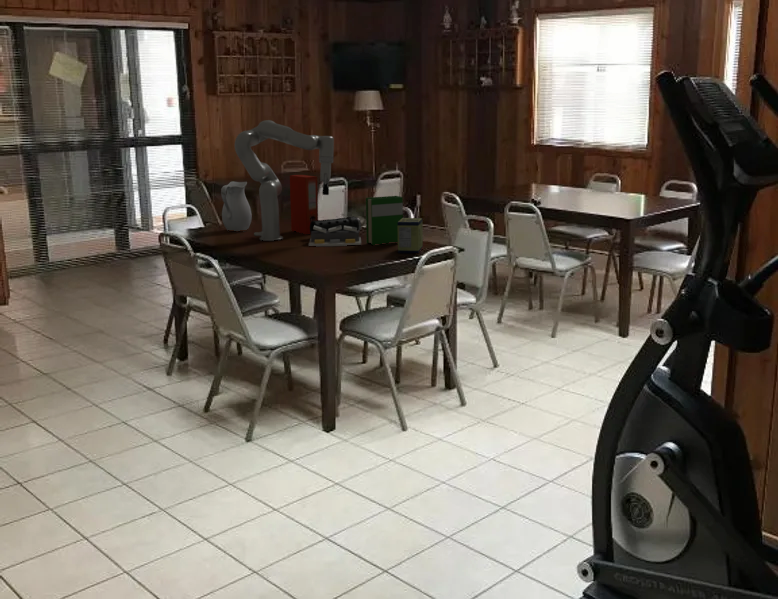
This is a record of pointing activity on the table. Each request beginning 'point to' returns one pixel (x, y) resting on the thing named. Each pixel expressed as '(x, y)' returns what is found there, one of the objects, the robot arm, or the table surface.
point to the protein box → (410, 235)
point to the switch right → (350, 228)
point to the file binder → (303, 202)
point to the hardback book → (383, 219)
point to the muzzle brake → (337, 223)
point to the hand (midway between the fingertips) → (325, 194)
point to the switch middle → (334, 228)
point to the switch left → (319, 229)
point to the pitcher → (235, 207)
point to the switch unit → (335, 238)
